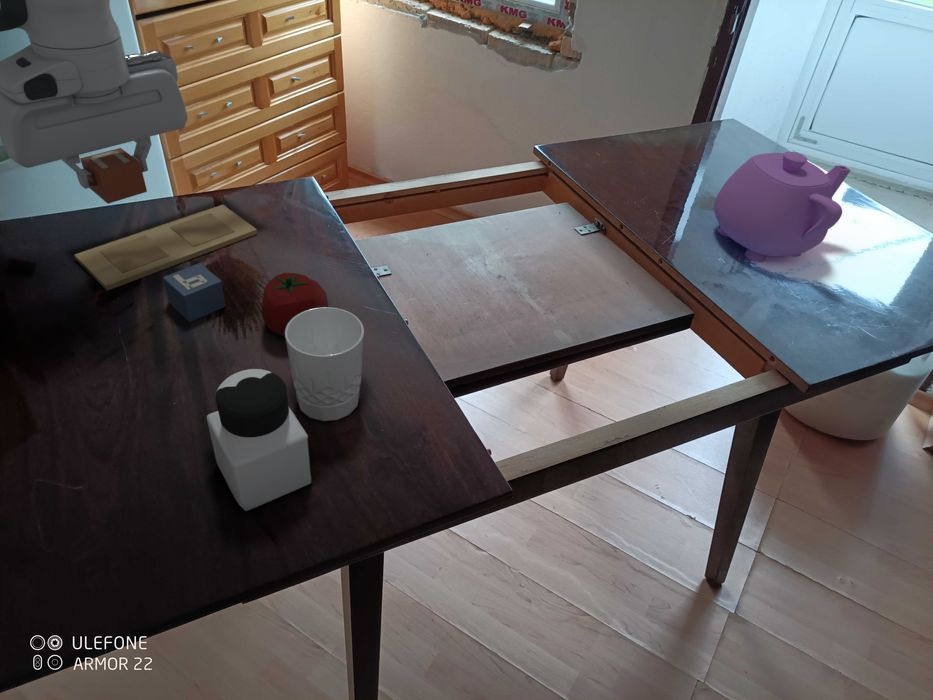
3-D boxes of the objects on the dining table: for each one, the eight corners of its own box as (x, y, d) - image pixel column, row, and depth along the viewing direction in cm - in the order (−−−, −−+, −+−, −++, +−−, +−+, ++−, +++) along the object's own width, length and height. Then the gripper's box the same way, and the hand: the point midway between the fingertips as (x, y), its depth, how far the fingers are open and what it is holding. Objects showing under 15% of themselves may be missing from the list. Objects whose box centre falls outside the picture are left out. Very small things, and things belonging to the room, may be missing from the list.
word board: (75, 259, 91) (73, 253, 91) (223, 209, 104) (222, 203, 103) (107, 290, 87) (105, 285, 86) (257, 234, 100) (256, 228, 99)
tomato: (268, 350, 81) (262, 302, 76) (258, 310, 87) (251, 263, 82) (335, 339, 84) (333, 291, 79) (321, 300, 89) (318, 254, 85)
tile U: (89, 188, 85) (79, 157, 83) (128, 176, 88) (120, 146, 85) (107, 204, 83) (98, 173, 80) (147, 191, 86) (140, 161, 83)
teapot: (865, 272, 107) (915, 185, 98) (763, 288, 101) (806, 197, 91) (783, 209, 121) (819, 127, 111) (688, 220, 115) (718, 135, 105)
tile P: (168, 303, 86) (162, 276, 83) (205, 288, 89) (199, 262, 86) (189, 322, 84) (183, 295, 81) (226, 306, 87) (221, 280, 84)
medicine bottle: (313, 484, 67) (305, 398, 60) (242, 514, 64) (224, 428, 56) (284, 436, 72) (273, 350, 64) (216, 463, 68) (196, 375, 60)
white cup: (300, 372, 79) (294, 303, 72) (369, 378, 79) (368, 310, 73) (284, 422, 73) (276, 352, 66) (358, 428, 73) (357, 359, 67)
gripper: (158, 39, 83) (180, 147, 92) (-29, 72, 71) (16, 192, 80) (185, 55, 80) (205, 164, 89) (-6, 91, 68) (39, 214, 77)
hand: (114, 178), depth 84 cm, fingers closed on tile U, 5 cm apart
